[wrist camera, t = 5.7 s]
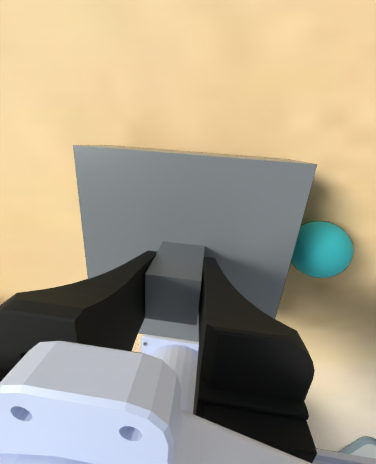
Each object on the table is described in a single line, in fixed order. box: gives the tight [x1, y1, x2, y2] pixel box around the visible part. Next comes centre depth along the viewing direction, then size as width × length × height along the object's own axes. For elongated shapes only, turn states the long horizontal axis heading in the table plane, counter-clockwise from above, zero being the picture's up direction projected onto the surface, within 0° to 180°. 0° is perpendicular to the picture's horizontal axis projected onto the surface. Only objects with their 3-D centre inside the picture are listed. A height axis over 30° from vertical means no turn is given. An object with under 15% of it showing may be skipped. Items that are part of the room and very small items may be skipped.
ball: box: [291, 221, 353, 278], centre depth 16 cm, size 4×4×4 cm
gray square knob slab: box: [73, 145, 317, 342], centre depth 14 cm, size 12×12×8 cm
